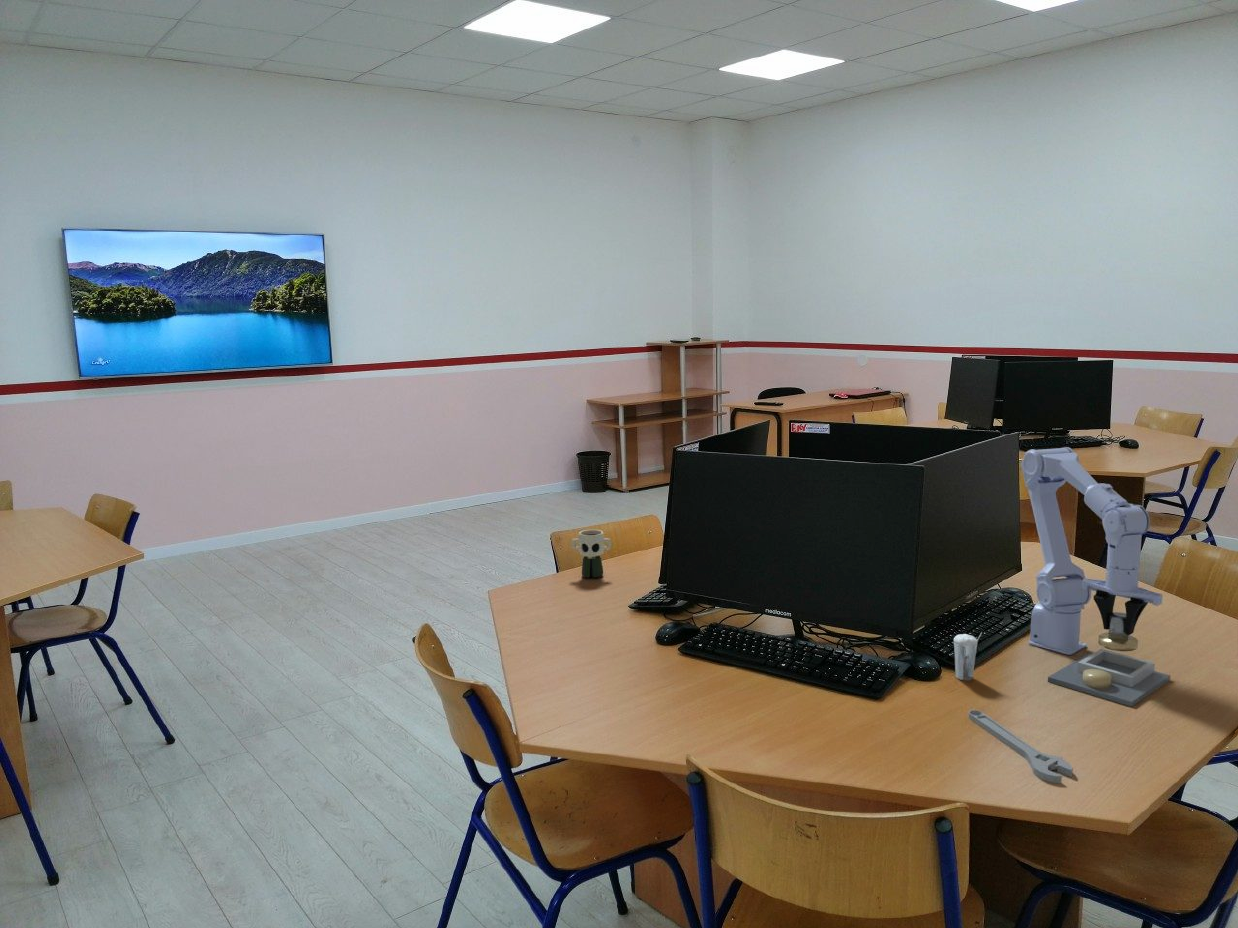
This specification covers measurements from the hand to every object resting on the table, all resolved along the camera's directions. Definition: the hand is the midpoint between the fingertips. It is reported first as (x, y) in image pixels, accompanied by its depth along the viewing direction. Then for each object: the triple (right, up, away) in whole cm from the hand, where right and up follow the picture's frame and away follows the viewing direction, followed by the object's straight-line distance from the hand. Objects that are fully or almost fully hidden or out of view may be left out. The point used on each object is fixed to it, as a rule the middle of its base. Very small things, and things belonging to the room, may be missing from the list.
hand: (1118, 630), depth 187 cm
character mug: (-108, +1, +80) cm, 135 cm away
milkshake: (-29, -10, +4) cm, 31 cm away
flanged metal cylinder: (0, -3, +1) cm, 3 cm away
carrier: (-2, -10, 0) cm, 10 cm away
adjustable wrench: (-31, -16, -25) cm, 43 cm away
